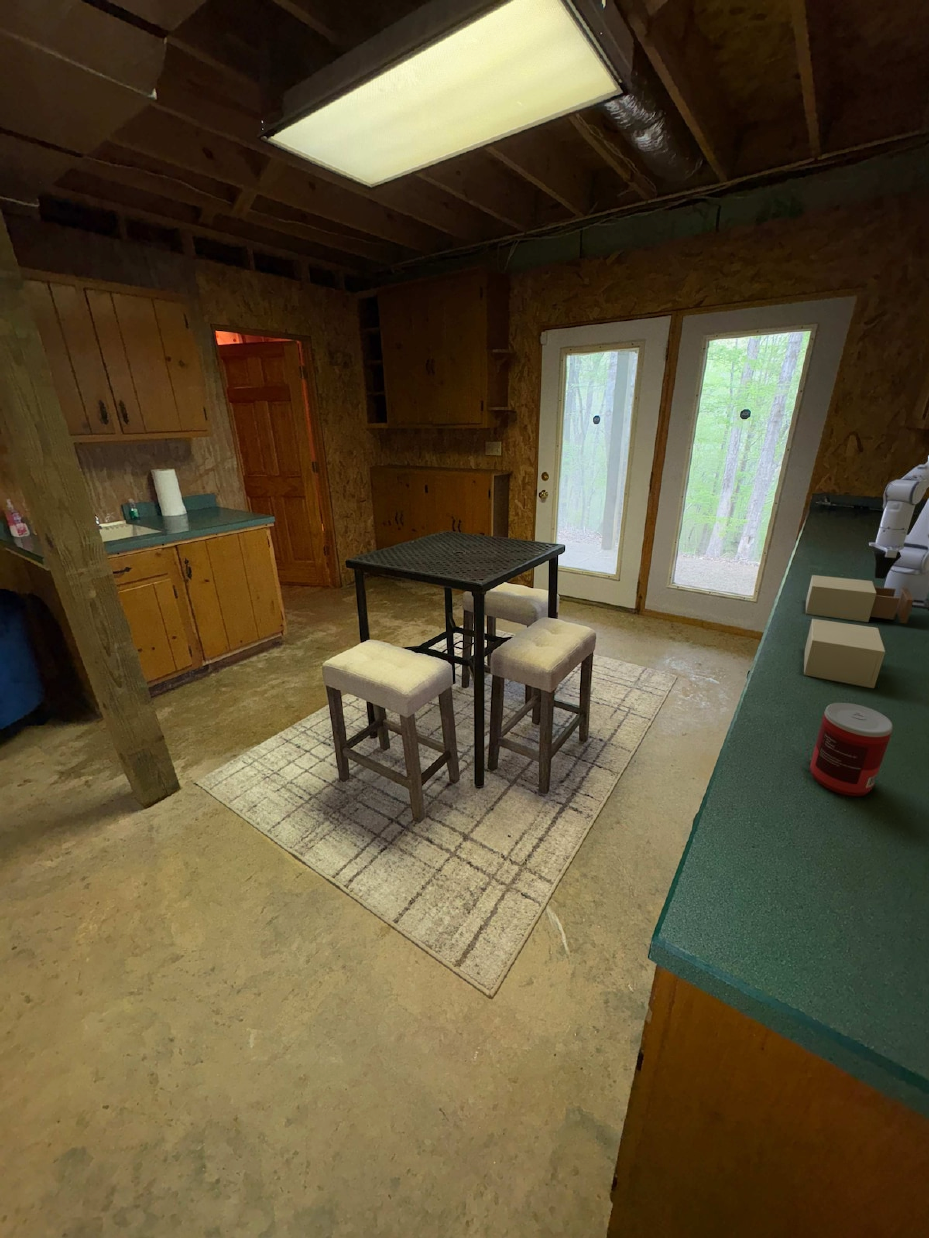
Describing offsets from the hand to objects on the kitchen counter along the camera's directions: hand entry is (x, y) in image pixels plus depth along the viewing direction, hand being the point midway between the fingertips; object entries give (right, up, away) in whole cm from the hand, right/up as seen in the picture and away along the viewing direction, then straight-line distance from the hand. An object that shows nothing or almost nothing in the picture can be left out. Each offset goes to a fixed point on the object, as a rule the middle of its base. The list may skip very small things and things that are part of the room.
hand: (879, 577), depth 130 cm
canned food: (-56, -35, -58) cm, 88 cm away
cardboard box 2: (-32, -22, -26) cm, 47 cm away
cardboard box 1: (-9, -9, +4) cm, 13 cm away
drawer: (0, -10, -2) cm, 10 cm away
